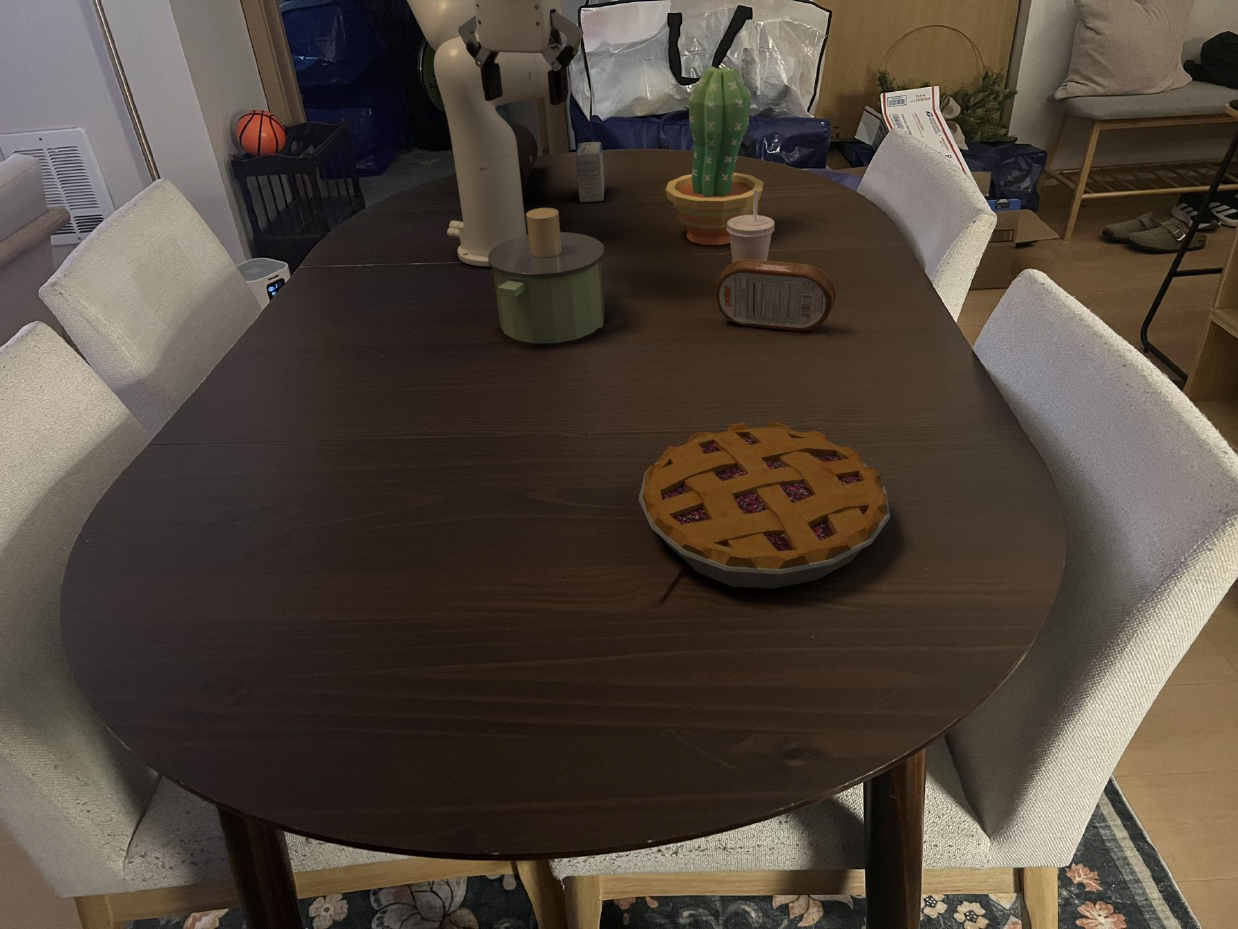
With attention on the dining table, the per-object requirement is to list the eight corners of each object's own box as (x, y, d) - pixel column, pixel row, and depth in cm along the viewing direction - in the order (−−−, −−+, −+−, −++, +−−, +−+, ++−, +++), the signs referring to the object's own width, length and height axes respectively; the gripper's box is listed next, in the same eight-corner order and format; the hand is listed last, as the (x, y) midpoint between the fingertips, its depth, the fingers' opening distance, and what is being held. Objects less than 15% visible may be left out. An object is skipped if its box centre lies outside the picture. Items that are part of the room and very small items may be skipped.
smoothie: (770, 299, 125) (774, 197, 118) (723, 298, 127) (724, 197, 119) (773, 281, 131) (777, 182, 123) (728, 280, 132) (729, 182, 124)
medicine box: (603, 202, 165) (600, 152, 160) (578, 203, 165) (575, 154, 161) (604, 188, 172) (602, 141, 167) (581, 190, 172) (577, 142, 167)
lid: (465, 273, 115) (458, 225, 112) (528, 235, 126) (523, 189, 122) (568, 290, 109) (563, 239, 105) (624, 248, 120) (622, 201, 116)
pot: (469, 345, 118) (458, 275, 113) (546, 291, 132) (539, 226, 127) (560, 363, 113) (554, 290, 107) (630, 304, 126) (627, 237, 121)
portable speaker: (526, 210, 163) (520, 153, 158) (471, 213, 164) (463, 155, 158) (541, 170, 184) (536, 118, 179) (492, 172, 185) (485, 120, 179)
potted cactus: (783, 236, 146) (791, 67, 132) (707, 260, 139) (708, 84, 125) (720, 213, 157) (722, 54, 143) (647, 234, 150) (641, 69, 136)
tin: (833, 326, 117) (838, 263, 113) (829, 337, 115) (834, 273, 110) (718, 315, 122) (718, 254, 117) (712, 325, 120) (712, 263, 115)
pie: (604, 491, 89) (601, 448, 86) (798, 436, 96) (800, 394, 93) (711, 634, 72) (711, 585, 69) (937, 554, 79) (945, 507, 76)
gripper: (591, -59, 106) (600, 98, 115) (468, -57, 113) (486, 91, 122) (558, -53, 100) (570, 111, 110) (431, -51, 108) (452, 103, 117)
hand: (526, 100), depth 116 cm, fingers open, 9 cm apart
